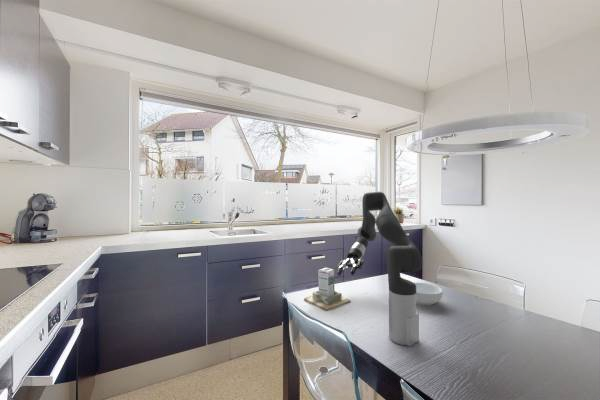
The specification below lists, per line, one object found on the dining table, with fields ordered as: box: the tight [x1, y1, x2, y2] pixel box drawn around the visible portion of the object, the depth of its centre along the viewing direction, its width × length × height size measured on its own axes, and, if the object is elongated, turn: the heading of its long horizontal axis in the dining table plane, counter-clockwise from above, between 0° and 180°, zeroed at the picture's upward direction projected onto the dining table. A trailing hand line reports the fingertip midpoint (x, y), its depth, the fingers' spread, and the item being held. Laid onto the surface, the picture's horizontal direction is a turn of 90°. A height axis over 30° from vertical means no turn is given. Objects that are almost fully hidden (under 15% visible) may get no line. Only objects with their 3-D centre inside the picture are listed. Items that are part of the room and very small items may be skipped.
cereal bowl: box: [413, 282, 443, 306], centre depth 128 cm, size 17×17×7 cm
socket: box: [303, 290, 351, 311], centre depth 130 cm, size 16×16×4 cm
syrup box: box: [317, 267, 335, 297], centre depth 131 cm, size 6×6×14 cm
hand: (344, 274), depth 135 cm, fingers open, 8 cm apart
